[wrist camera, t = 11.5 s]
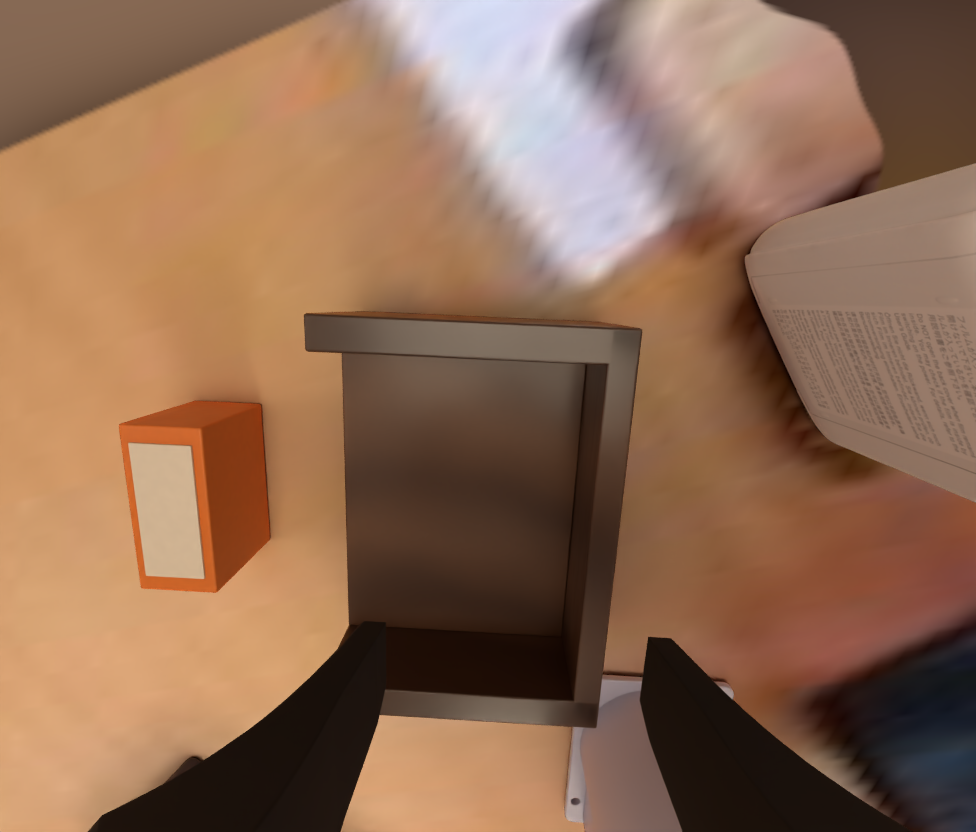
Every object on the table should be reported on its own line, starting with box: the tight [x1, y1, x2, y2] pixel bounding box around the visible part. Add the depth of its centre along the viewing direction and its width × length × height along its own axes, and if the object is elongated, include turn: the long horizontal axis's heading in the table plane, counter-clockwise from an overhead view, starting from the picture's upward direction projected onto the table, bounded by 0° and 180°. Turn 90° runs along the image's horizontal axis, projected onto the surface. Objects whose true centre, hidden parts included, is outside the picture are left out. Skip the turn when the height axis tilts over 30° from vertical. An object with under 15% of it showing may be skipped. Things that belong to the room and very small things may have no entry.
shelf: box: [304, 311, 642, 728], centre depth 20 cm, size 15×11×6 cm
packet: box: [119, 401, 270, 593], centre depth 21 cm, size 7×3×5 cm, turn 178°
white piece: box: [745, 163, 976, 503], centre depth 15 cm, size 10×4×12 cm, turn 31°
